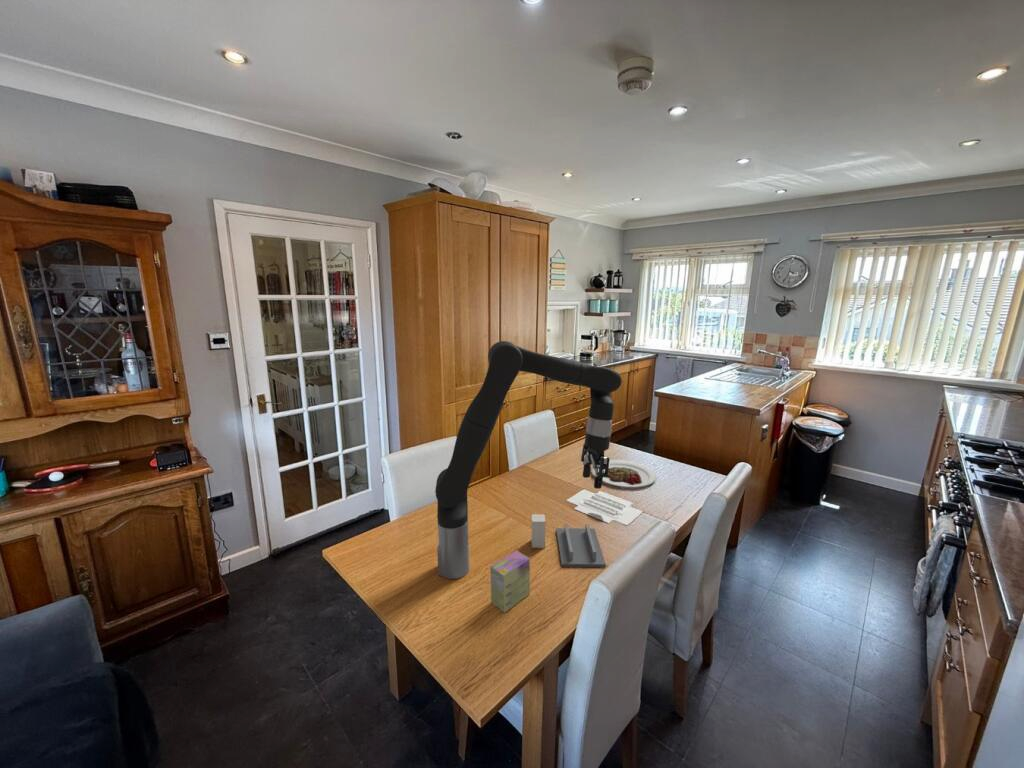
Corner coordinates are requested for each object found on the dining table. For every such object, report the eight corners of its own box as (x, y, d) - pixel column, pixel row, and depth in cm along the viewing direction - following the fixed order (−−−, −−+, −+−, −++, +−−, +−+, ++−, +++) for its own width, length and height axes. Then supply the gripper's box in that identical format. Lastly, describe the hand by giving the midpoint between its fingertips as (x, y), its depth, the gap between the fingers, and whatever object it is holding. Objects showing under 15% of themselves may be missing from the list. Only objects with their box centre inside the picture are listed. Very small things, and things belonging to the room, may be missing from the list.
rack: (561, 566, 129) (561, 555, 128) (556, 530, 148) (556, 520, 147) (605, 567, 128) (606, 556, 127) (594, 531, 148) (594, 521, 147)
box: (516, 584, 121) (516, 549, 118) (530, 594, 117) (530, 558, 114) (490, 602, 114) (489, 566, 111) (504, 613, 110) (503, 576, 107)
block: (531, 547, 138) (532, 521, 136) (531, 539, 143) (531, 514, 141) (545, 547, 138) (545, 521, 136) (544, 540, 143) (544, 514, 140)
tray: (587, 488, 182) (588, 480, 181) (646, 512, 164) (647, 504, 163) (561, 505, 167) (561, 497, 166) (623, 534, 149) (623, 525, 148)
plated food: (605, 458, 214) (606, 452, 213) (663, 472, 197) (664, 466, 196) (580, 479, 190) (580, 472, 189) (643, 497, 173) (644, 490, 172)
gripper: (578, 425, 129) (571, 473, 131) (597, 438, 115) (589, 492, 118) (599, 426, 131) (592, 474, 133) (620, 439, 117) (613, 492, 120)
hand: (591, 482), depth 125 cm, fingers open, 8 cm apart
